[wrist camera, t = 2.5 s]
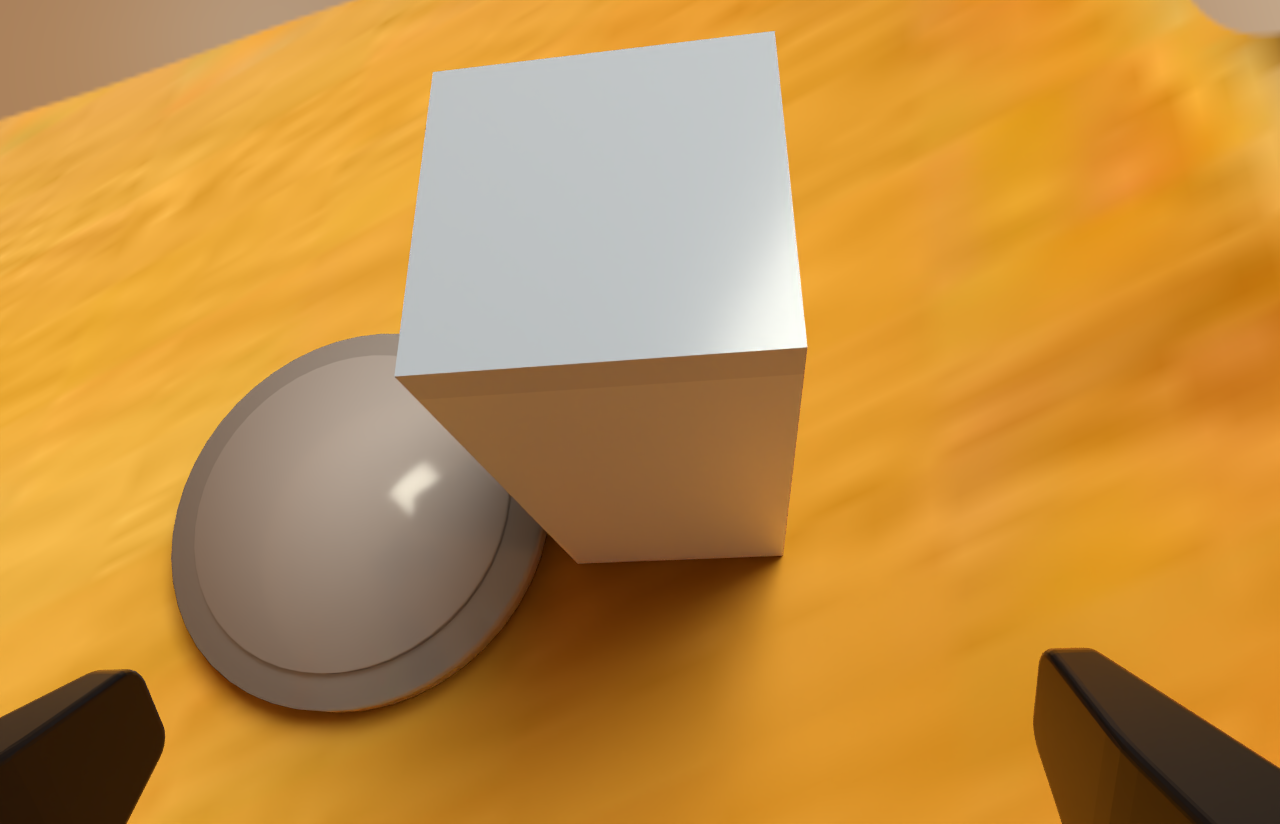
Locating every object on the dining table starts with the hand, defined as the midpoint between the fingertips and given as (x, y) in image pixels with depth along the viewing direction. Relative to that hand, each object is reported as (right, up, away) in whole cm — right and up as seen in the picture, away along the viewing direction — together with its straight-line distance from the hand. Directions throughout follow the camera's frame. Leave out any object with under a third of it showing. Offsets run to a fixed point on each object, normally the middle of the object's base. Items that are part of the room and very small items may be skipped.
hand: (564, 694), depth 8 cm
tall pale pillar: (+2, +1, +15) cm, 15 cm away
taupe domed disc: (-7, 0, +15) cm, 17 cm away
